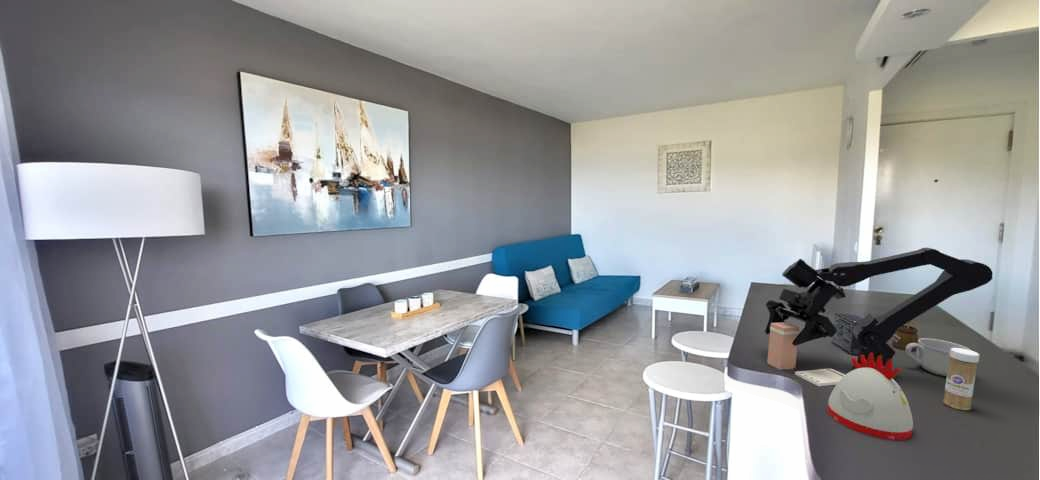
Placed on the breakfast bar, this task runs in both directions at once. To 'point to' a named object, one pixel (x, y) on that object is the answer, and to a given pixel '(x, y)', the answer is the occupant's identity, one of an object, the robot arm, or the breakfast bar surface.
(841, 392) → the kitchen timer
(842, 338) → the small box
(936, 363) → the teacup
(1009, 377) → the breakfast bar surface
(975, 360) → the sprinkles bottle
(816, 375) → the ticket strip
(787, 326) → the carton
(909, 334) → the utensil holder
